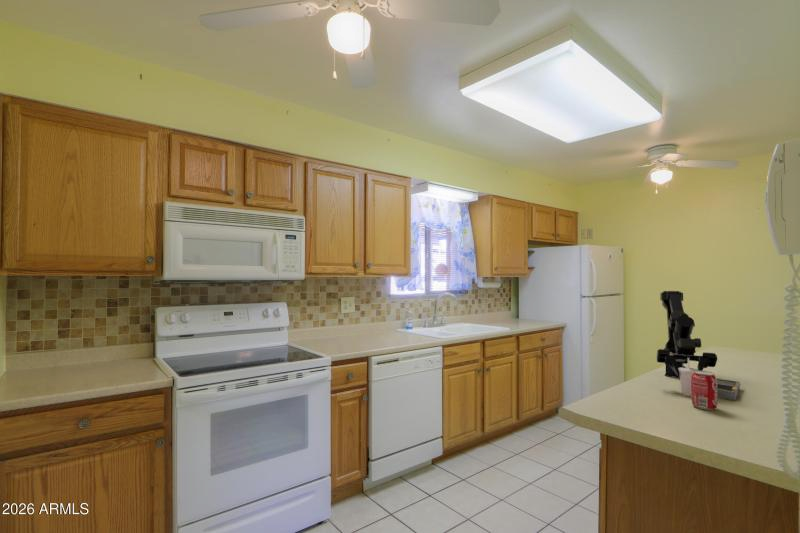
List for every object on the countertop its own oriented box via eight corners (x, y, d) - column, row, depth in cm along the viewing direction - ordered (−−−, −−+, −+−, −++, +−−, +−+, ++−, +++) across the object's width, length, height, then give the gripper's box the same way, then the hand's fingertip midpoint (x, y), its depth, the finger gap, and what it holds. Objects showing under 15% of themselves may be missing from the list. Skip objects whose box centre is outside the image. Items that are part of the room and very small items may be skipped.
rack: (698, 394, 150) (698, 385, 150) (706, 384, 165) (706, 376, 165) (735, 400, 143) (735, 391, 143) (740, 389, 157) (740, 381, 157)
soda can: (712, 405, 137) (712, 370, 138) (721, 412, 131) (720, 375, 131) (688, 403, 140) (688, 369, 140) (695, 409, 133) (695, 373, 133)
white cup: (680, 396, 148) (680, 358, 148) (676, 391, 154) (675, 355, 154) (701, 398, 146) (701, 360, 146) (696, 393, 152) (695, 356, 152)
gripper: (657, 328, 158) (661, 361, 148) (715, 331, 150) (724, 367, 139) (654, 345, 165) (658, 378, 155) (710, 349, 157) (718, 384, 146)
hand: (689, 376), depth 149 cm, fingers closed on white cup, 6 cm apart
